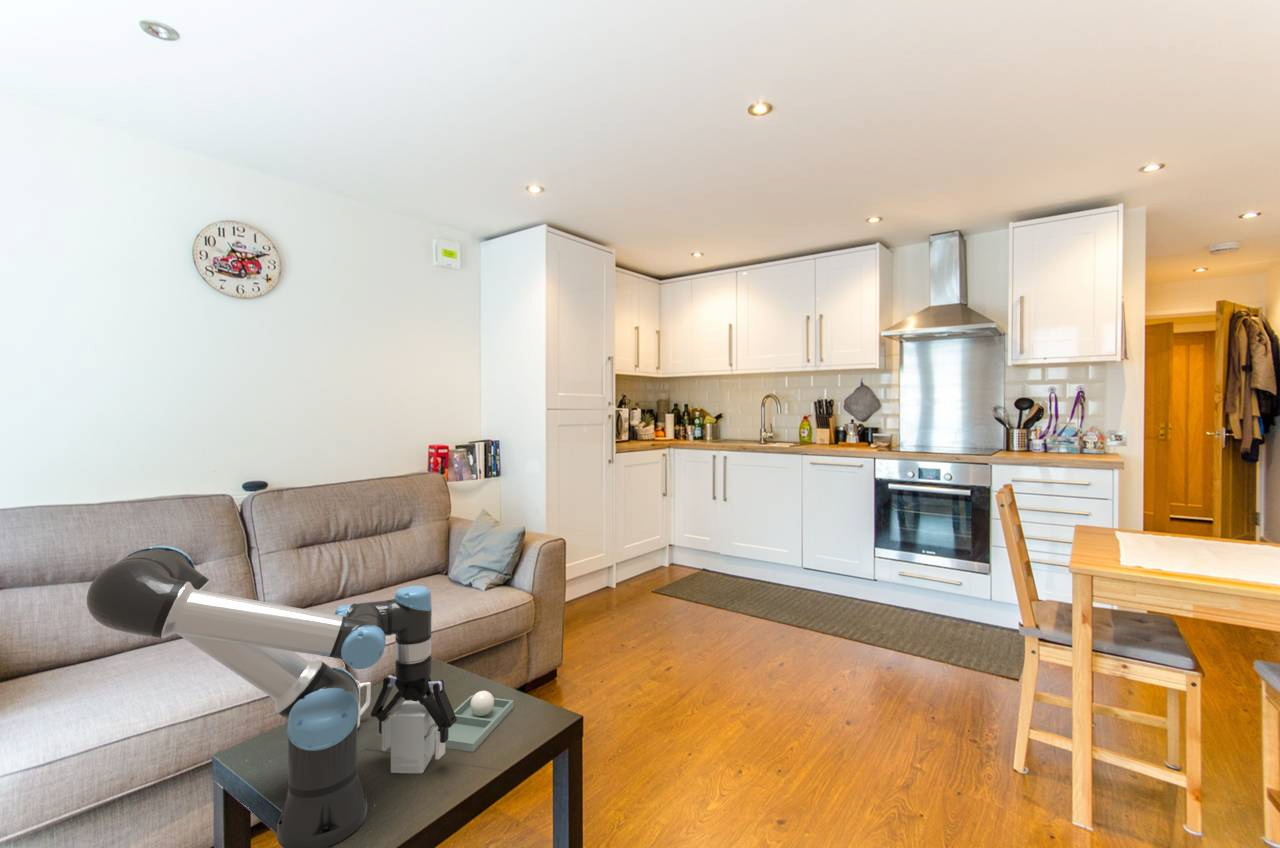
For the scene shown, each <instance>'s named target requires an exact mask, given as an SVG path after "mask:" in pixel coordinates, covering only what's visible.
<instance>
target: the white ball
mask: <svg viewBox="0 0 1280 848" xmlns="http://www.w3.org/2000/svg"><path fill="white" fill-rule="evenodd" d="M473 695H474V696H473V697H472V699H471V703H470V707H471V710H472V712H473V713H474V714H475V715H477V716H485V715H487V714H489V713H490V712H491V710H492V709H493V706H494V698H495V697H494V696H493V694H492V693H491V692H490V691H488V690H480V691H477V692H476V693H475V694H473Z"/></svg>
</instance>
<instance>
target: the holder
mask: <svg viewBox="0 0 1280 848" xmlns="http://www.w3.org/2000/svg"><path fill="white" fill-rule="evenodd" d="M474 695H475V694H473V695H472V694H471V695H470V696H469V697H468V698H467V699H465V700H464V701H463V702H462V703H461V704H460V705H458V706H457V708H455V709H453V711H454V713H455V716H456V718H457V721H456V722H455V723H454V724H453V725H452V726H451V727H450V728H448V740H447V741H446V742H445V749H448V750H454V751H461V752H468V753H474V752H475V751H476V750H477V749H478V747H479V746H480V745H482V743H483V742H484V741H485V740H486V739H487V738H488V737H489V736H490V734H491V733H492V732H493V731H494V730H495V729H496V728H497V727H498V726H499V724H501V722H503V720H504V719H505V718H506V717H507V716H508V714H509V713H511V711H512V710H513V709H514V708H515V705H514V703H515V701H514V700H513V699H504V698H497V697H493V698H494V706H493V709H492V710H491V712H490V713H489V714H487V715H485V716H477V715H475V714H474V713H473V712H472V710H471V707H470V703H471V699H472V697H473V696H474ZM442 722H443V721H442ZM437 728H438V726H437V725H436V726H435V736H436V729H437Z"/></svg>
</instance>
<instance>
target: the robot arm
mask: <svg viewBox="0 0 1280 848" xmlns="http://www.w3.org/2000/svg"><path fill="white" fill-rule="evenodd" d="M211 586H212V585H211V579H209V578H208V577H206V576H205V575H204V574H202V573H200V572H199V571H198V570H196V567H195V564H194V561H193V560H192V558H191V556H190V555H189V554H187V553H186V552H184V551H183V550H182V549H180V548H177V547H174V546H173V547H172V546H168V545H154V546H149V547H144V548H141V549H139V550H134V551H133V552H131V553H129V554H128V555H127V556H125V557H124V558H122V559H121V560H119V561H117V562H116V563H114V564H112V565H109V566H108V567H106V568H105V569H104V570H102V571H101V572H100V573H99V574H98V575H97V576H96V577H95V578H94V579H93V581H92V582H91V584H90V586H89V588H88V591H87V594H86V605H87V610H88V611H89V613H90V615H91V616H92V617H93V619H94V620H95V621H96V622H98V623H100V624H101V625H103V627H107V628H108V629H112V630H116V631H120V632H124V633H128V634H134V635H139V636H143V637H144V636H145V637H150V638H151V637H153V638H160V639H166V638H167V637H168V638H169V636H171V635H174V634H177V635H178V636H179V637H182V638H183V639H184V640H185V641H187V642H189V643H190V644H192V645H193V646H194V647H196V648H198V649H199V650H200V651H202V652H203V653H205V654H206V655H208V656H209V657H210V658H212V659H214V660H215V661H217V662H218V663H219V664H221V665H223V666H224V667H225V668H227V669H228V670H230V671H231V672H233V673H234V674H236V675H237V676H239V677H240V678H241V679H243V680H244V681H246V682H248V683H250V684H251V685H252V686H254V687H255V688H257V689H258V690H260V691H261V692H263V693H264V694H265V695H267V696H268V697H270V698H272V699H273V700H274V706H275V707H274V710H275V713H277V714H278V715H280V716H281V717H283V718H284V719H286V720H287V724H286V733H287V737H288V738H287V739H288V741H287V742H288V746H287V748H288V750H287V760H288V761H287V768H288V769H287V779H288V780H287V781H288V783H287V785H288V786H287V794H286V797H285V801H284V803H283V805H282V809H281V812H280V815H279V818H278V821H277V824H276V828H277V829H276V830H277V831H276V840H277V842H278V845H279V846H280V847H281V848H328V847H331V846H333V845H335V844H337V843H340V842H342V841H343V840H345V839H346V838H349V837H350V836H351V835H353V834H354V833H355V832H357V830H358V829H359V828H360V827H361V826H362V825H363V823H364V822H365V820H366V818H367V815H368V799H367V796H366V793H365V791H364V790H363V787H362V783H361V780H360V778H359V774H358V728H357V725H358V704H359V689H358V685H357V683H356V680H357V679H355V677H354V676H353V674H352V673H351V672H349V671H348V670H347V669H344V668H342V667H336V666H329V665H328V664H327V663H325V662H324V661H322V660H321V659H317V660H313V661H312V660H311V661H309V660H306V659H305V658H303V657H302V656H301V655H299V653H300V654H301V653H302V654H308V655H314V656H320V657H321V656H322V657H327V658H334V659H340V660H343V662H344V663H345V664H346V665H347V666H348V667H350V668H352V669H354V670H364V669H368V668H370V667H373V666H374V665H375V664H377V663H378V662H379V660H380V659H381V658H382V657H383V654H384V652H385V647H386V640H387V639H386V637H387V636H388V637H389V636H392V635H395V638H394V639H395V644H394V645H395V647H394V649H395V650H394V652H395V653H394V659H395V664H394V667H395V668H394V669H395V671H394V672H395V674H394V673H391V674H389V675H388V676H386V677H384V678H383V681H382V688H381V690H380V693H379V695H378V697H377V699H376V701H375V703H374V706H373V707H372V710H371V712H370V717H372V718H376V719H377V720H378V733H379V734H380V735H381V751H383V752H385V751H387V749H389V748H391V716H392V715H391V713H392V712H393V710H394V709H396V707H397V705H398V704H400V702H401V701H402V699H404V701H419V702H420V704H421V705H424V707H425V708H426V710H427V711H428V713H429V714H430V715H431V717H432V718H433V720H434V721H435V724H436V727H437V726H438V728H437V729H436V736H435V753H434V755H435V756H434V758H435V760H439V759H441V758H442V756H444V755H445V754H446V748H445V742H446V741H447V740H448V728H450V727H451V726H452V725H453V724H454V723H455V722H456V721H457V718H456V716H455V713H454V709H453V707H452V704H451V702H450V698H449V697H448V695H447V693H446V690H445V681H444V680H443V679H442V678H441V679H438V681H432V679H431V673H432V656H431V654H432V613H433V612H432V609H433V607H432V592H431V590H430V589H429V588H428V587H426V586H423V585H410V586H406V587H401V588H399V589H397V590H396V592H395V596H394V598H391V599H387V600H378V601H377V600H376V601H369V602H368V601H367V602H361V603H357V602H353V603H350V604H344V605H340V606H338V607H337V608H335V611H334V613H333V614H332V613H328V612H322V611H316V610H312V609H306V608H305V609H304V608H299V607H294V606H290V605H284V604H283V605H282V604H278V603H272V602H267V601H262V600H256V599H251V598H244V597H240V596H234V595H229V594H223V593H219V592H212V589H211ZM394 686H396V689H397V690H398V691H397V692H396V693H395V694H394V696H393V697H392V699H391V700H390V701H389V703H388V704H386V703H387V701H388V698H389V697H390V695H391V692H392V690H393V688H394ZM425 696H426V697H425ZM385 705H386V706H385ZM442 721H443V722H442Z"/></svg>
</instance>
